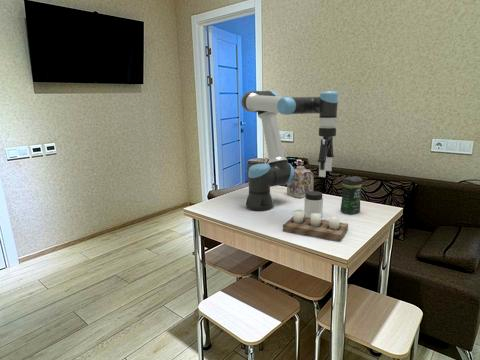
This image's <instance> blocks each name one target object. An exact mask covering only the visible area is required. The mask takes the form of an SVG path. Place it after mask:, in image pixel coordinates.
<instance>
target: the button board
mask: <svg viewBox="0 0 480 360" xmlns="http://www.w3.org/2000/svg"><path fill="white" fill-rule="evenodd" d="M310 221H311V218H308V217H305V216H303V223H302V224H297V223H293V216H292V217H290V218H289V219H288V220H287V221H286V222H285V223H283V224H282V232H286V233H291V234H296V235H301V236H306V237H312V238H318V239H323V240H328V241H333V242H334V241H335V242H337V243H338V242H339V243H341V242H342V240H343V238H344V237H345V236H346V234H347V232H348V230H349V223H348V222H347V223H345V222H340V223H339V230H332V229H329V220H326V219H321V226H320V227H314V226H311V225H310Z"/></svg>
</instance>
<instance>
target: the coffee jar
mask: <svg viewBox="0 0 480 360" xmlns="http://www.w3.org/2000/svg"><path fill="white" fill-rule="evenodd" d="M341 185H342V194H341V196H342V197H341V202H340V211H341V212H342V213H343V214H349V215H353V214H357V213H360V212H361V190H362V186H363V179H362V177H360V176H356V175H354V176H348V177H344V178H343V179H342V184H341Z"/></svg>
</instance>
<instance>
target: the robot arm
mask: <svg viewBox="0 0 480 360" xmlns="http://www.w3.org/2000/svg"><path fill="white" fill-rule="evenodd" d="M338 94H339V93H338V92H337V91H321V92H320V95H319V96H280V95H279V94H278V93H277V92H276V91H274V90H273V91H272V90H250V91H247V92H245V93H244V94H243V95H242V97H241V100H240V104H241V107H242V109H244V111H246V112H249V113H257V117H258V118H259V119H261V124H262V128H263V129H262V130H263V134H264V141H265V146H266V150H267V156H268V161H267V162H265V163H257V164H253V165H251V166H249V168H248V172H247V176H248V195H247V198H246V201H245V208H246V209H248V210H249V211H253V212H254V211H256V212H257V211H258V212H263V211H265V212H266V211H269V210H272V209H273V208H274V202H273V201H274V200H273V198H272V195H271V187H272V188H273V187H277V186H284V185H287V184H288V183H290V182H291V181H292V179H293V177H294V169H295V168H294V167H293V165H292V164H291V163H289V160H288V159H287V158H286V157H285V153H284V149H283V144H282V139H281V134H280V129H279V128H280V127H279V123H278V118H277V116H278V114H281V115H286V116H287V115H288V116H289V115H301V114H302V115H305V114H308V115H309V114H311V115H312V114H319V115H318V116H319V118H318V127H319V128H318V137H322V139H320V146H319V147H320V149H319V153H318V154H319V155H318V160H317V163H318V164H319V167H318V177H321V178H326V176H327V175H326V174H327V173H326V172H332V171H333V170H332V167H333V158H335V155H334V146H333V145H334V143H333V139H334V137H336V135H337V122H339V120H338V119H337V118H338V105H339V95H338Z"/></svg>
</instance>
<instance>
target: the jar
mask: <svg viewBox="0 0 480 360" xmlns="http://www.w3.org/2000/svg"><path fill="white" fill-rule="evenodd" d="M323 205H324V198H323V193H322V192H321V191H318V190H317V191H316V190H315V191H314V190H313V191H309V192H306V197H304V205H303V206H304V211H303V217H308V218H311V213H320V214H321V218H322V217H323V212H324V211H323V210H324V209H323V207H324V206H323Z"/></svg>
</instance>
